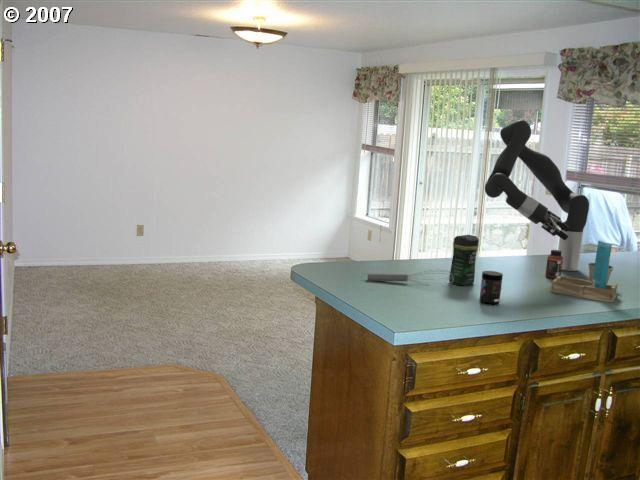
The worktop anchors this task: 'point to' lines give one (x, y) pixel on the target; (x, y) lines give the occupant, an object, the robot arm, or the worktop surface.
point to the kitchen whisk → (401, 277)
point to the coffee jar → (464, 259)
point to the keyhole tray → (583, 289)
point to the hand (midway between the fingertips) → (567, 234)
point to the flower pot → (591, 271)
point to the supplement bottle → (554, 264)
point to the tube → (601, 265)
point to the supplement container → (491, 287)
